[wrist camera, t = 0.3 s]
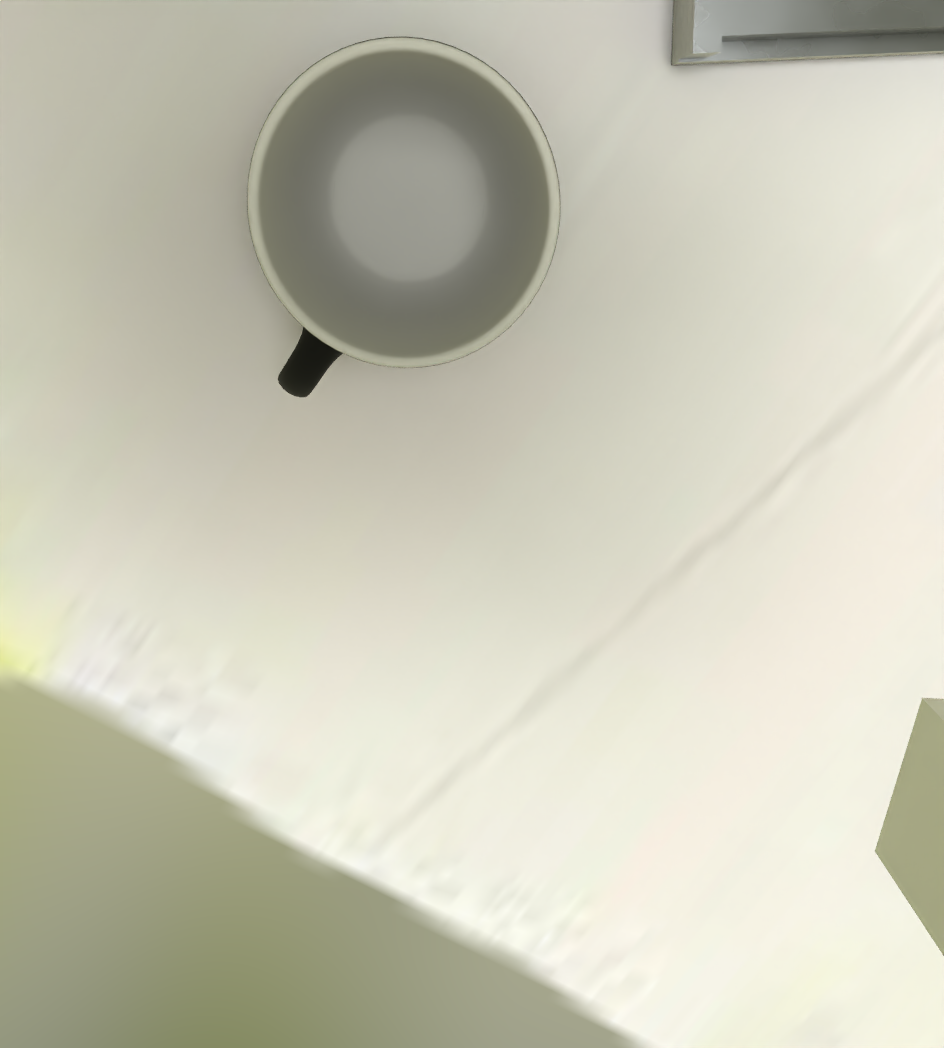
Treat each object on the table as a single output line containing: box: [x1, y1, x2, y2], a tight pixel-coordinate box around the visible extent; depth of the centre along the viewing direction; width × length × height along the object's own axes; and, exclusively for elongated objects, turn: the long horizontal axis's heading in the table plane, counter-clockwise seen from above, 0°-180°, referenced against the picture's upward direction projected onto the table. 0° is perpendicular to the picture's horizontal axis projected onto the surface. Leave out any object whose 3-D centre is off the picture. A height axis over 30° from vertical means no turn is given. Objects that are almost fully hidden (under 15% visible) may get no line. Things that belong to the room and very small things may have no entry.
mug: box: [247, 37, 560, 397], centre depth 31 cm, size 12×9×10 cm
